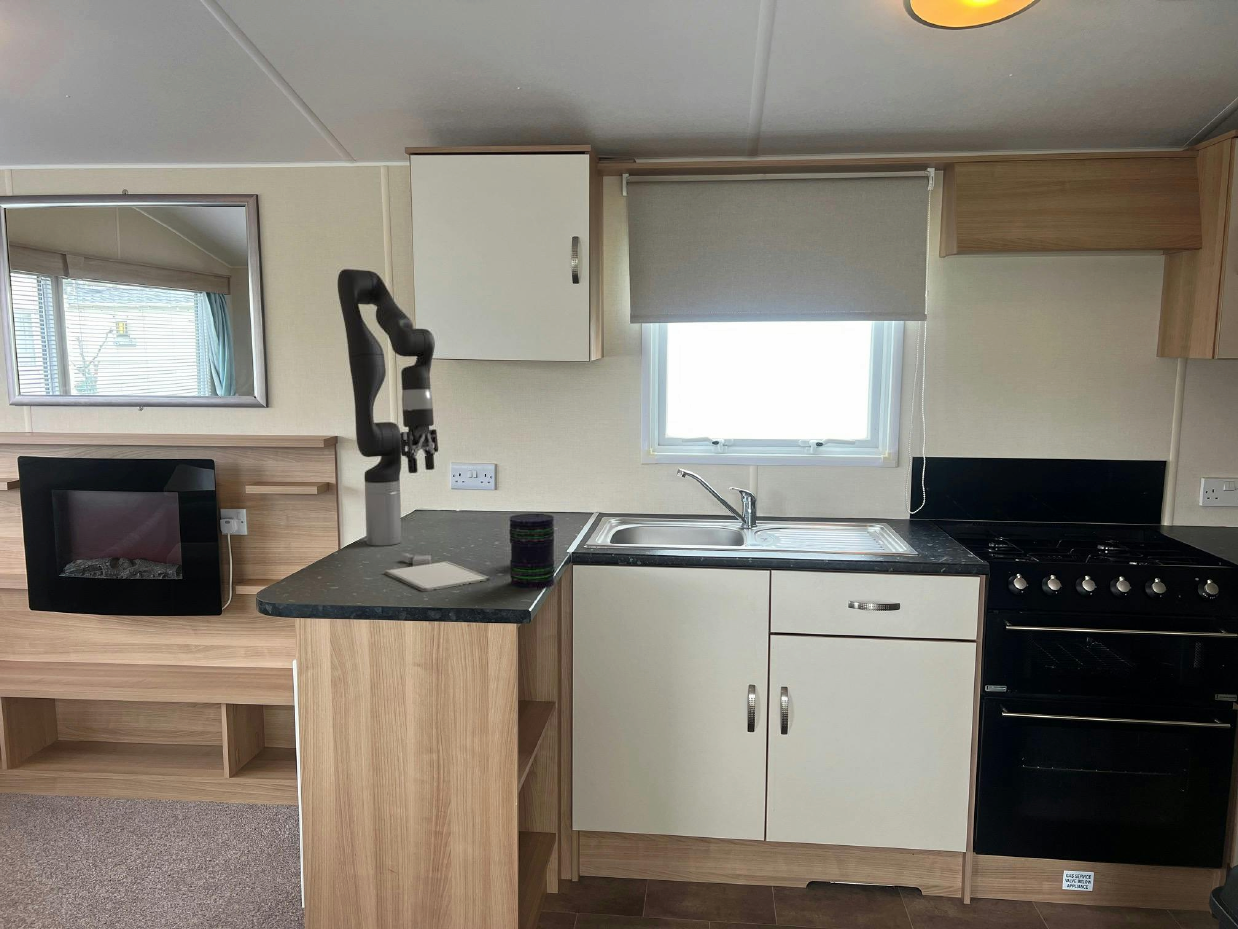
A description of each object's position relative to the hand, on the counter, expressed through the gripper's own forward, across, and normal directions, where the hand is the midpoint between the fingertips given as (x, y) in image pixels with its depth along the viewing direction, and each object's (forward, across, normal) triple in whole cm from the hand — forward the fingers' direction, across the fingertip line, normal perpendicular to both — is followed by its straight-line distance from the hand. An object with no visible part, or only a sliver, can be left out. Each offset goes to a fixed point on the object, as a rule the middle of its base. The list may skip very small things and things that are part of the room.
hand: (421, 471), depth 213 cm
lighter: (+21, +13, +4) cm, 25 cm away
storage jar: (+24, +20, +37) cm, 49 cm away
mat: (+23, +20, +14) cm, 33 cm away
